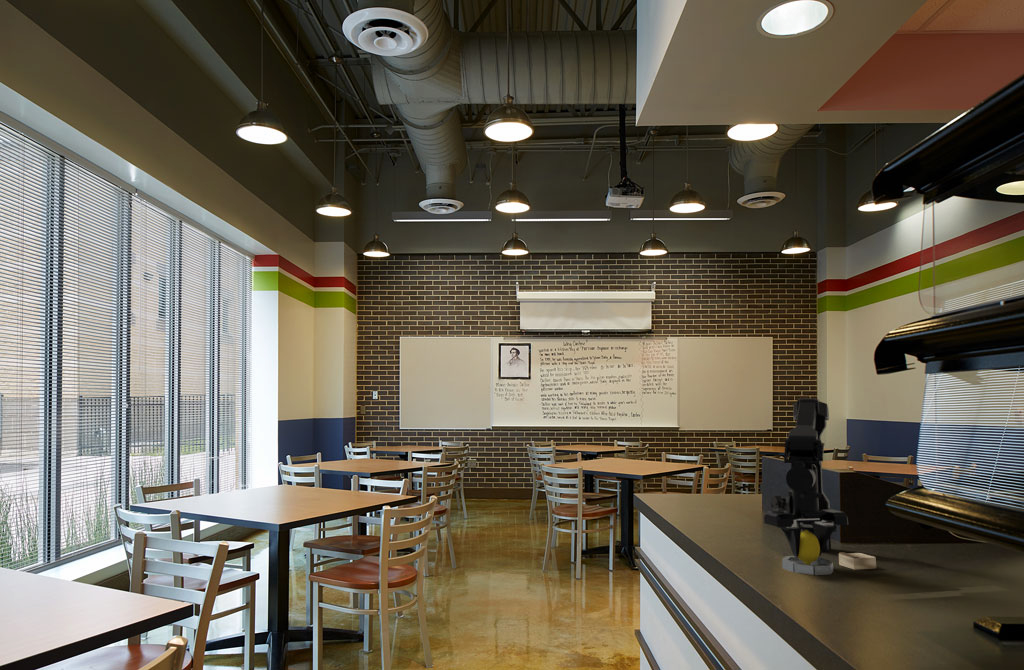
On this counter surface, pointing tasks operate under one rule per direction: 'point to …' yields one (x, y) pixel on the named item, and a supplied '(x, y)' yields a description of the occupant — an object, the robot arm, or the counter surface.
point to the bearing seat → (807, 566)
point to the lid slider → (857, 561)
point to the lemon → (808, 547)
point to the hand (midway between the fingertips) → (807, 556)
